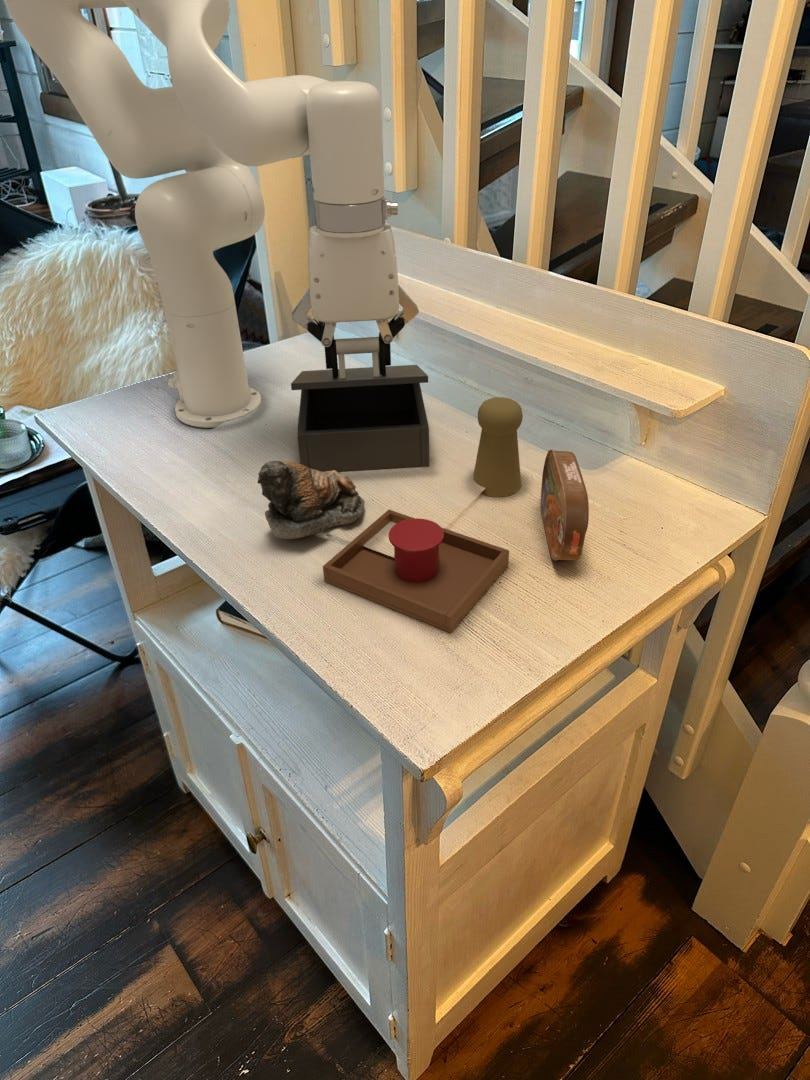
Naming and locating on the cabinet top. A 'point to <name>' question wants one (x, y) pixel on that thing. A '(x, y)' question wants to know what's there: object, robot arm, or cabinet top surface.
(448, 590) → the tray
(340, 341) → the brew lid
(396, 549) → the coffee pod
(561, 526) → the tin
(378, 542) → the cabinet top surface
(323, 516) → the bison figurine
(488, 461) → the olive pawn piece
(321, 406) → the pod bay
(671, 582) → the cabinet top surface
